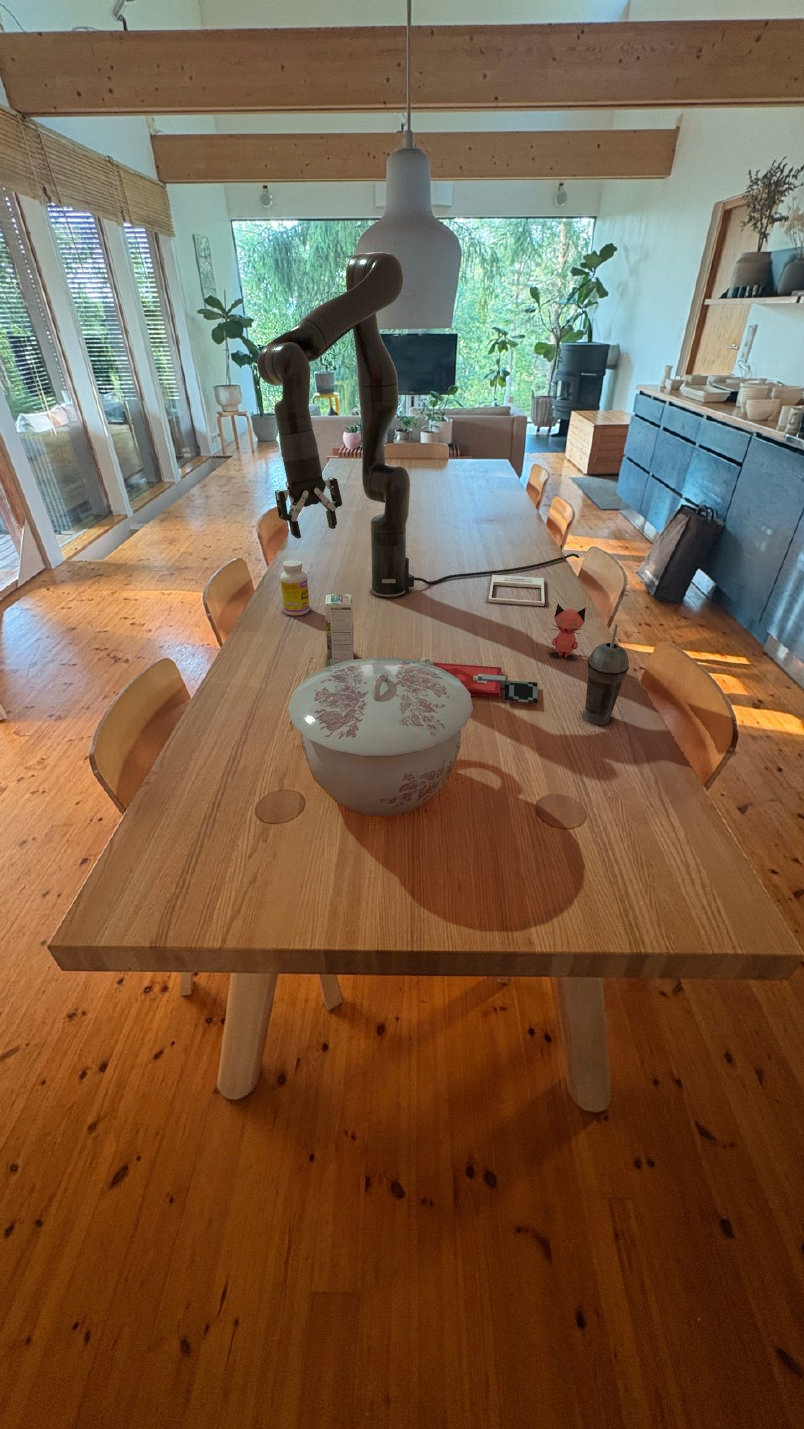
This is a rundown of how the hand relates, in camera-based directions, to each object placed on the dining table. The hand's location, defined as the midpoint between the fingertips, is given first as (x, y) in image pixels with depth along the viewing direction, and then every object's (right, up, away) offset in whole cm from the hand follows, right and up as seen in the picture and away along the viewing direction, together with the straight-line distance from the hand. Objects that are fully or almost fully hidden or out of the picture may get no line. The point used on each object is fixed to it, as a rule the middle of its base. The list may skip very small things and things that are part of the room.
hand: (315, 533), depth 137 cm
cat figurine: (+56, -27, +4) cm, 62 cm away
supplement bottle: (-8, -14, +24) cm, 28 cm away
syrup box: (+6, -28, +1) cm, 29 cm away
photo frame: (+51, -6, +35) cm, 62 cm away
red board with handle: (+32, -35, -9) cm, 48 cm away
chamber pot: (+16, -52, -35) cm, 65 cm away
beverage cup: (+56, -41, -18) cm, 72 cm away
